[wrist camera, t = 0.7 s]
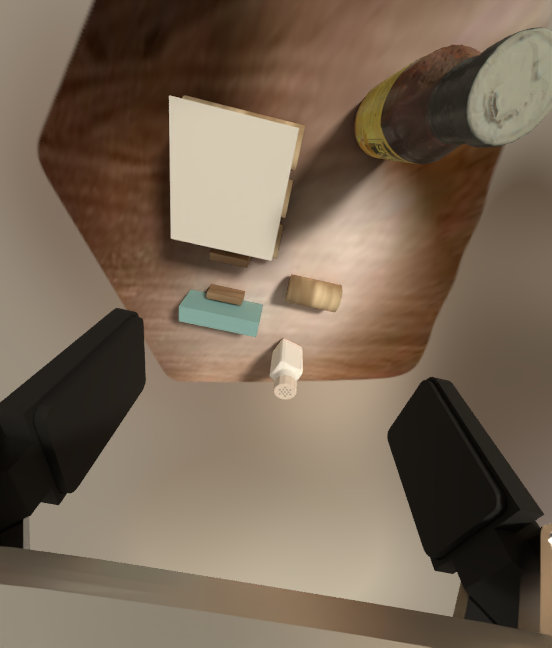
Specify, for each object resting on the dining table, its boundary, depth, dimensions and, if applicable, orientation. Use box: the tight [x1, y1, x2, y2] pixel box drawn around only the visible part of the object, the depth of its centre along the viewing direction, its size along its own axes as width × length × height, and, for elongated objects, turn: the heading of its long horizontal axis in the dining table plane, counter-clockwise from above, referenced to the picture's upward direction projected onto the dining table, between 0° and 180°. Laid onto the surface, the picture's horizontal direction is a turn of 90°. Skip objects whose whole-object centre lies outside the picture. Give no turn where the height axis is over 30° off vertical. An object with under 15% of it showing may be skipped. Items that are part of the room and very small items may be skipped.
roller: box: [285, 275, 342, 312], centre depth 38 cm, size 7×4×4 cm, turn 78°
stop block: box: [179, 290, 263, 337], centre depth 40 cm, size 2×11×5 cm, turn 78°
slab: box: [169, 95, 299, 261], centre depth 27 cm, size 12×11×4 cm
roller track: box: [182, 95, 305, 305], centre depth 33 cm, size 22×12×4 cm, turn 168°
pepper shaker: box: [270, 339, 303, 399], centre depth 42 cm, size 4×4×10 cm
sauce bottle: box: [354, 28, 552, 164], centre depth 20 cm, size 6×6×20 cm
